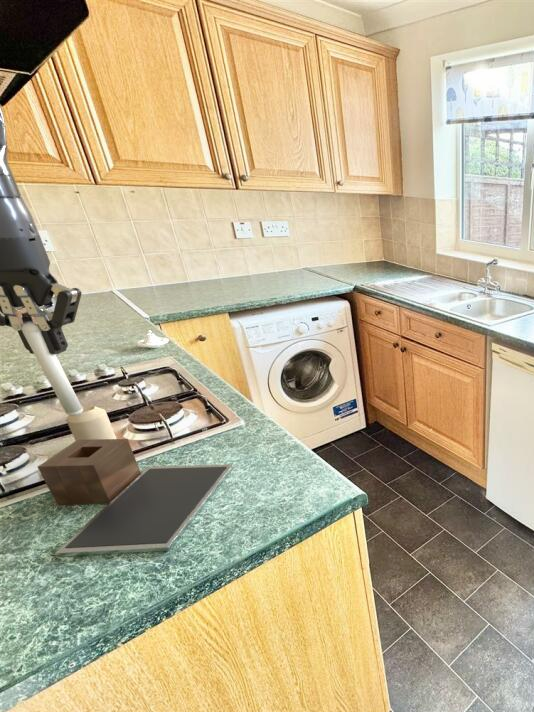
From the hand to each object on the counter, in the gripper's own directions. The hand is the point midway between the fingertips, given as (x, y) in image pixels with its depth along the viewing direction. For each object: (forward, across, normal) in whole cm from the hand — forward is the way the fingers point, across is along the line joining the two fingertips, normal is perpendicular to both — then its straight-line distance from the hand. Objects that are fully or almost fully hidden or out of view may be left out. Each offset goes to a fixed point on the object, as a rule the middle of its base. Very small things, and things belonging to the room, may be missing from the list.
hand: (49, 351), depth 64 cm
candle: (+26, -9, +12) cm, 30 cm away
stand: (+26, -1, 0) cm, 26 cm away
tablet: (+26, +11, -5) cm, 29 cm away
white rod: (+11, 0, 0) cm, 11 cm away
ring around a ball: (+26, -34, +72) cm, 84 cm away
